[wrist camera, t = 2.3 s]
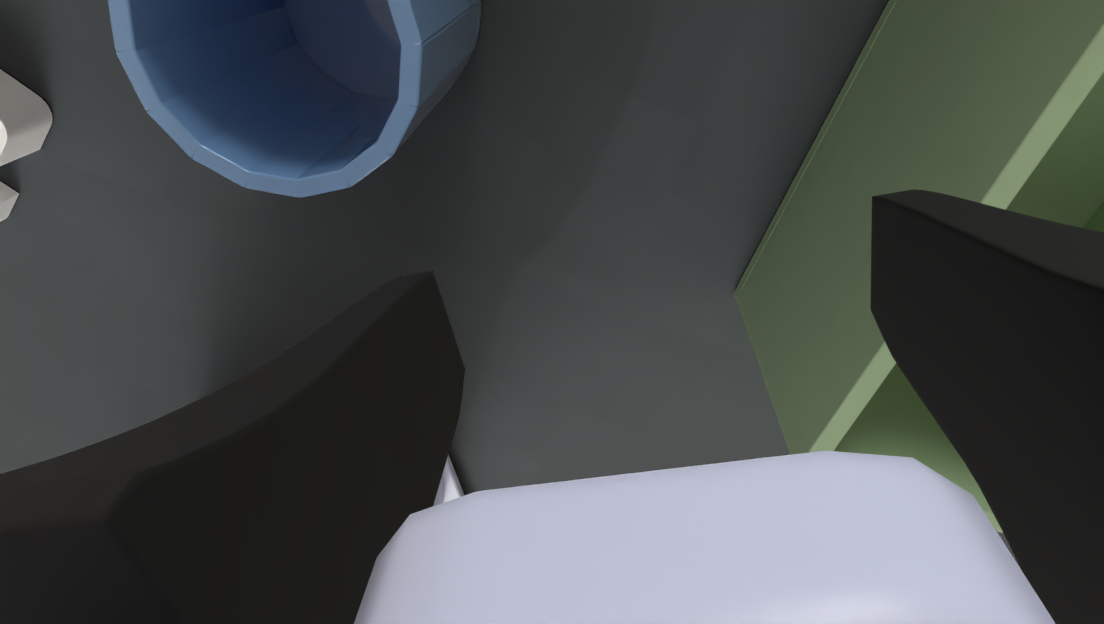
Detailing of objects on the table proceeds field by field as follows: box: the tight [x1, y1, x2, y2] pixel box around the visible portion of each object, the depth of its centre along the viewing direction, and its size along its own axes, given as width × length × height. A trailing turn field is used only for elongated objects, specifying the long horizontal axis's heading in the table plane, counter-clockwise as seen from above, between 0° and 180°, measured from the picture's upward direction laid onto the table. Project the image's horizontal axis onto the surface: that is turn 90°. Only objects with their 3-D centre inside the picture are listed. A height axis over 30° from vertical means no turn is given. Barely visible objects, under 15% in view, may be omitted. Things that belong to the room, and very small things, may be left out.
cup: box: [108, 0, 481, 198], centre depth 16 cm, size 6×6×8 cm
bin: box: [734, 0, 1104, 533], centre depth 17 cm, size 9×11×8 cm
